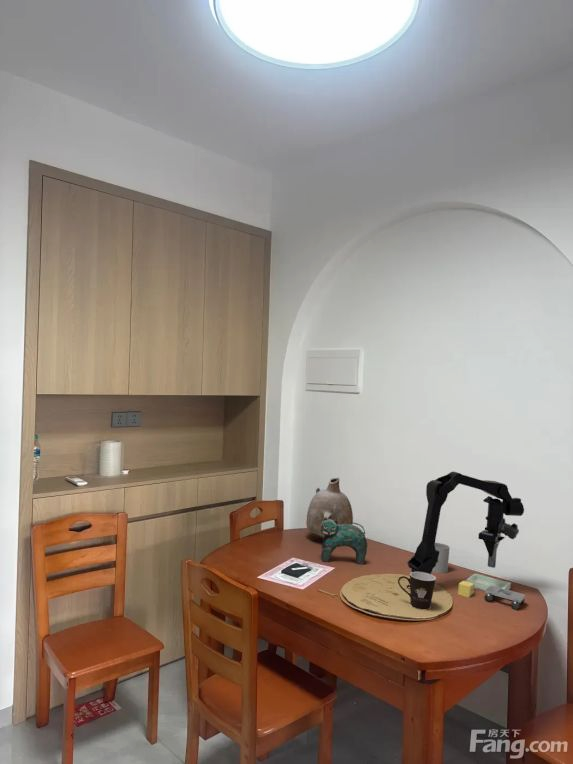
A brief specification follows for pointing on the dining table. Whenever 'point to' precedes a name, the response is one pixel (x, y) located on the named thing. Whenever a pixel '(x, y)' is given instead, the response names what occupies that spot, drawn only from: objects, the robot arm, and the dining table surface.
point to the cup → (442, 558)
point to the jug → (328, 507)
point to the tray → (487, 582)
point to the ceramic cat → (342, 539)
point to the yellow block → (466, 588)
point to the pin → (492, 558)
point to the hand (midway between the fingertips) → (492, 555)
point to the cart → (505, 595)
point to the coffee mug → (420, 589)
